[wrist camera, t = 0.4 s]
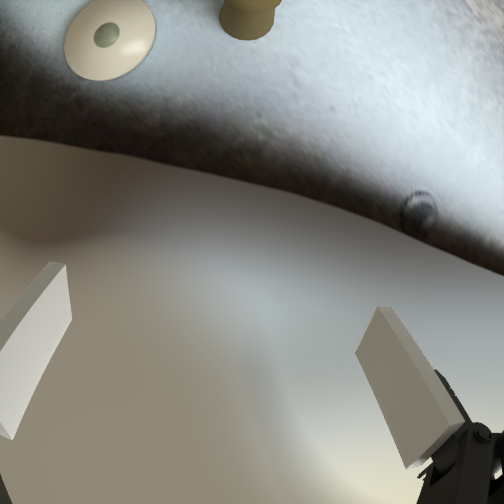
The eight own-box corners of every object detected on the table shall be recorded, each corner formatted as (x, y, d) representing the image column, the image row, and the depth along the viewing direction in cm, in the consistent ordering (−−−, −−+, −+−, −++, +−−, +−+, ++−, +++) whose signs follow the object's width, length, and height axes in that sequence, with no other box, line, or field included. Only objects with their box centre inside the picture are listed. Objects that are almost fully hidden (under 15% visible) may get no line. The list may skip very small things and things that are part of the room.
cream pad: (81, -1, 24) (76, -4, 23) (166, -3, 26) (164, -8, 24) (62, 81, 28) (56, 80, 27) (145, 83, 30) (142, 82, 29)
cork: (285, 22, 28) (309, -11, 18) (242, 50, 29) (250, 24, 20) (251, -14, 26) (261, -57, 16) (208, 14, 27) (201, -23, 17)
